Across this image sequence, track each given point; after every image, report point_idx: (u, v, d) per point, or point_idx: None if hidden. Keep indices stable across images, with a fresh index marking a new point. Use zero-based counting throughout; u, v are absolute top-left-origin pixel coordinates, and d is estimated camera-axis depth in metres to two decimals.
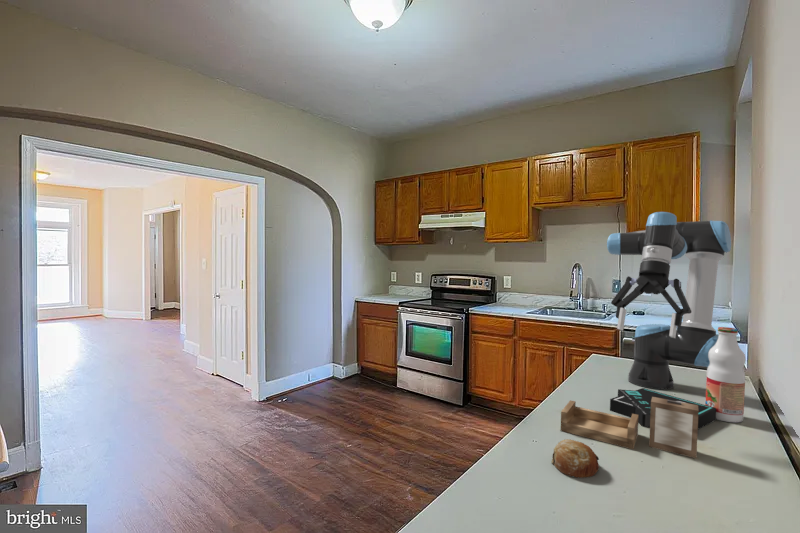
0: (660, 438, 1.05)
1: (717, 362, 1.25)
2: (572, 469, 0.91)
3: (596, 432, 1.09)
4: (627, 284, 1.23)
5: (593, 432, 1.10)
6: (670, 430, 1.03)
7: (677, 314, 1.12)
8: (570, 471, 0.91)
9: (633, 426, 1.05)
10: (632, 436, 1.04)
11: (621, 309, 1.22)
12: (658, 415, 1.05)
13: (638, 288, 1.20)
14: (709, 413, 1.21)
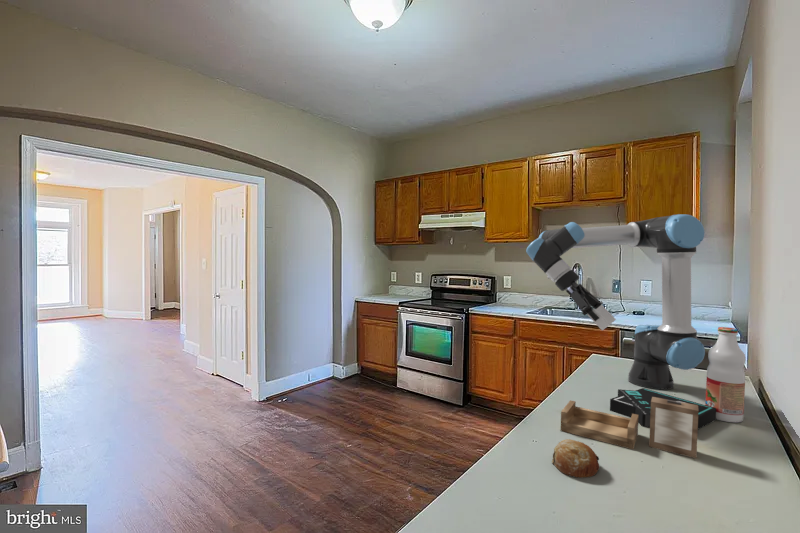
0: (660, 438, 1.05)
1: (717, 362, 1.25)
2: (572, 469, 0.91)
3: (596, 432, 1.09)
4: None
5: (593, 432, 1.10)
6: (670, 430, 1.03)
7: None
8: (570, 471, 0.91)
9: (633, 426, 1.05)
10: (632, 436, 1.04)
11: None
12: (658, 415, 1.05)
13: None
14: (709, 413, 1.21)
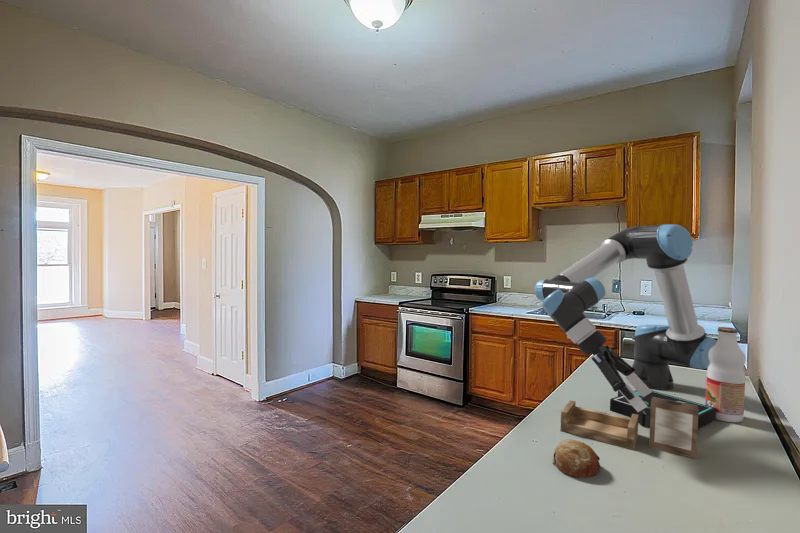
0: (660, 438, 1.05)
1: (717, 362, 1.25)
2: (573, 469, 0.91)
3: (596, 432, 1.09)
4: None
5: (593, 432, 1.10)
6: (670, 430, 1.03)
7: None
8: (571, 471, 0.91)
9: (633, 426, 1.05)
10: (632, 436, 1.04)
11: None
12: (658, 415, 1.05)
13: None
14: (709, 413, 1.21)
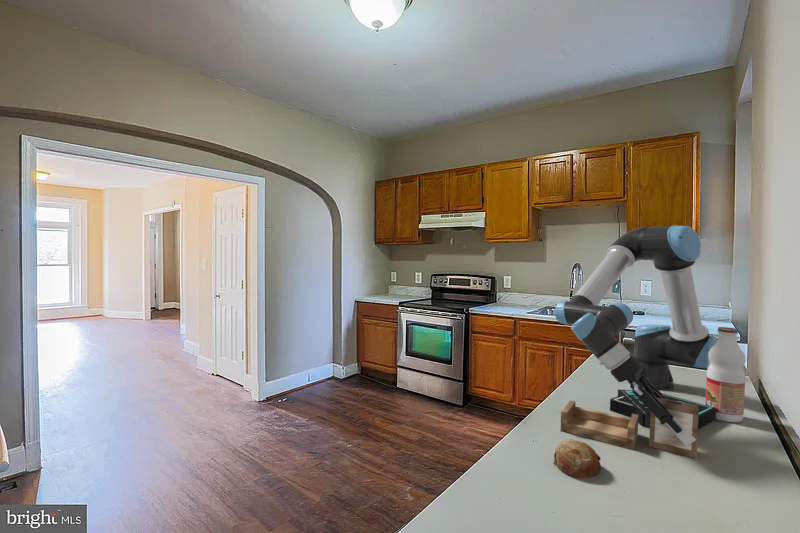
0: (660, 438, 1.05)
1: (717, 362, 1.25)
2: (574, 469, 0.91)
3: (596, 432, 1.09)
4: None
5: (593, 432, 1.10)
6: (670, 429, 1.03)
7: None
8: (571, 471, 0.91)
9: (633, 426, 1.05)
10: (632, 436, 1.04)
11: None
12: None
13: None
14: (709, 413, 1.21)
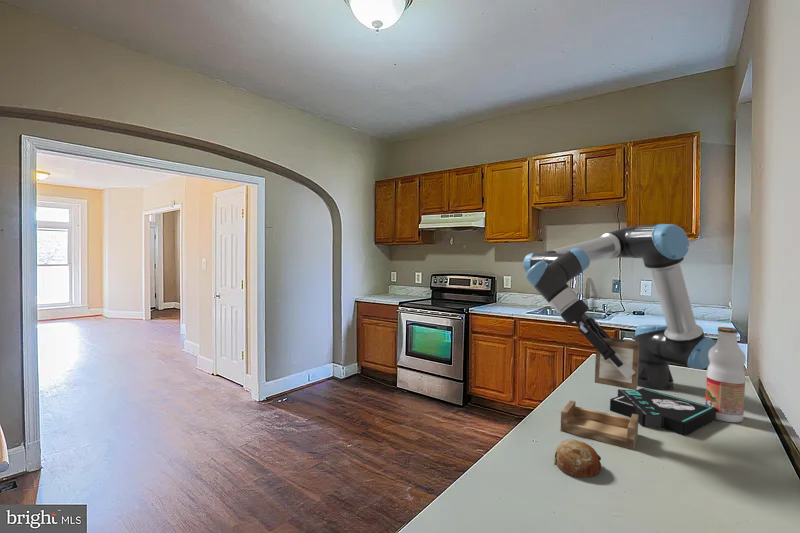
0: (604, 373, 1.11)
1: (717, 362, 1.25)
2: (574, 469, 0.91)
3: (596, 432, 1.09)
4: None
5: (593, 432, 1.10)
6: (613, 365, 1.09)
7: None
8: (572, 471, 0.91)
9: (633, 426, 1.05)
10: (632, 436, 1.04)
11: None
12: None
13: None
14: (709, 413, 1.22)
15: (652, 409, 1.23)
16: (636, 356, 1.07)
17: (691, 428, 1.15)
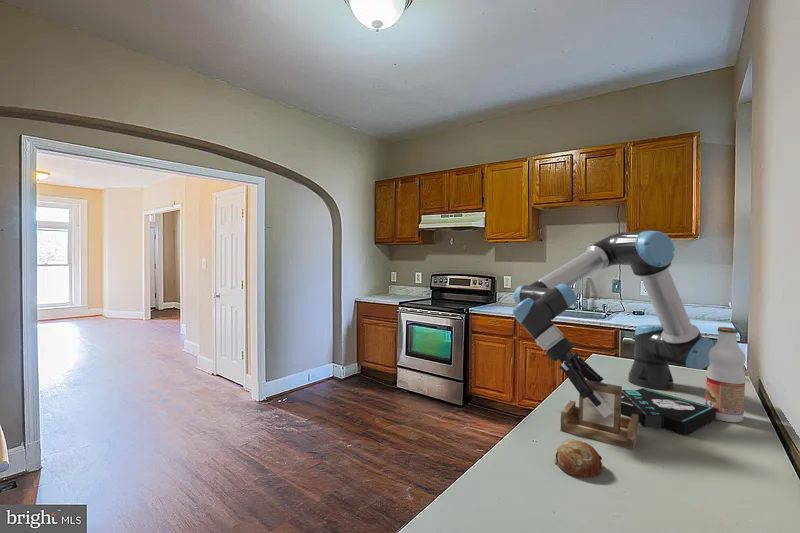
0: (587, 417, 1.14)
1: (717, 362, 1.25)
2: (575, 469, 0.91)
3: (596, 432, 1.09)
4: None
5: (593, 432, 1.10)
6: (596, 409, 1.12)
7: None
8: (573, 471, 0.91)
9: (633, 426, 1.05)
10: (632, 436, 1.04)
11: None
12: None
13: None
14: (709, 413, 1.22)
15: (652, 409, 1.23)
16: (617, 401, 1.09)
17: (691, 428, 1.15)
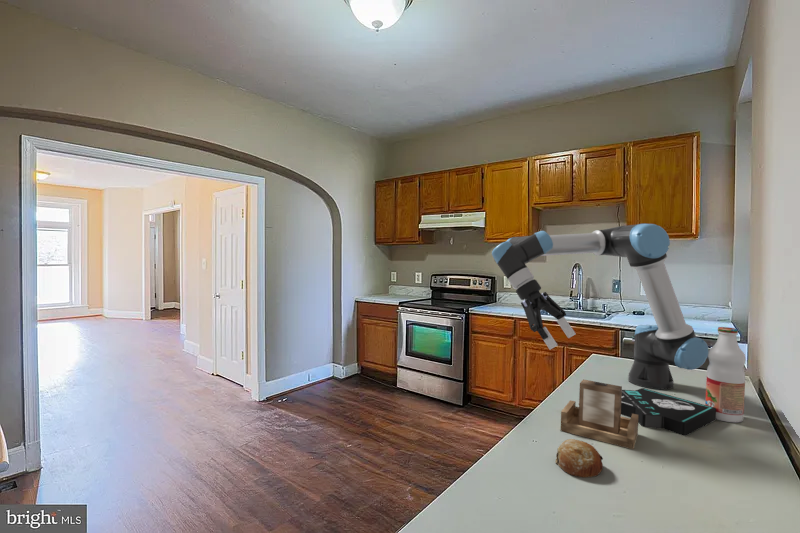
0: (587, 417, 1.14)
1: (717, 362, 1.25)
2: (576, 469, 0.91)
3: (596, 432, 1.09)
4: None
5: (593, 432, 1.10)
6: (596, 409, 1.12)
7: None
8: (574, 471, 0.91)
9: (633, 426, 1.05)
10: (632, 436, 1.04)
11: None
12: (585, 395, 1.14)
13: None
14: (709, 413, 1.22)
15: (652, 409, 1.23)
16: (617, 401, 1.09)
17: (691, 428, 1.15)
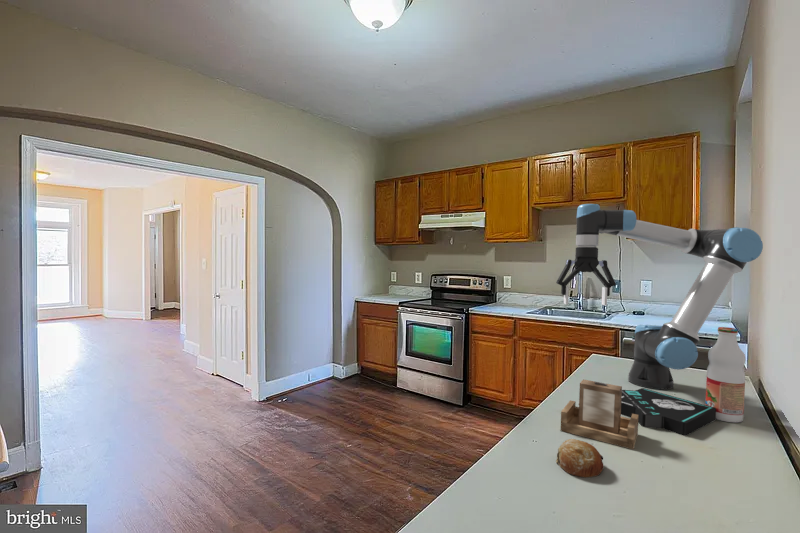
0: (587, 417, 1.14)
1: (717, 362, 1.25)
2: (577, 469, 0.91)
3: (596, 432, 1.09)
4: None
5: (593, 432, 1.10)
6: (596, 409, 1.12)
7: None
8: (574, 470, 0.91)
9: (633, 426, 1.05)
10: (632, 436, 1.04)
11: None
12: (585, 395, 1.14)
13: None
14: (709, 413, 1.22)
15: (652, 409, 1.23)
16: (617, 401, 1.09)
17: (691, 428, 1.15)
